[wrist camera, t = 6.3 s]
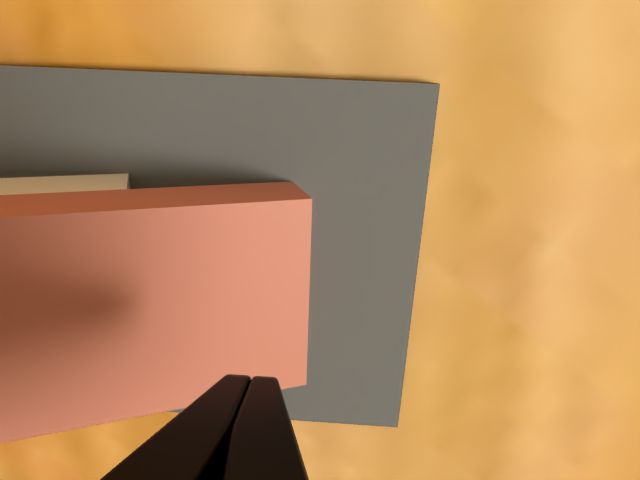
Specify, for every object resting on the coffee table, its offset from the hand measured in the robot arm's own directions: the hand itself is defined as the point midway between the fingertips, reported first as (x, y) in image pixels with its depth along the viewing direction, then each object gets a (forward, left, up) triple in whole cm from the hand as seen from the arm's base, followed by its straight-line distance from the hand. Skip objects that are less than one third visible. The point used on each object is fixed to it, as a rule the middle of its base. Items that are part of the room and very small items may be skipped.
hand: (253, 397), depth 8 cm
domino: (0, 0, -5) cm, 5 cm away
